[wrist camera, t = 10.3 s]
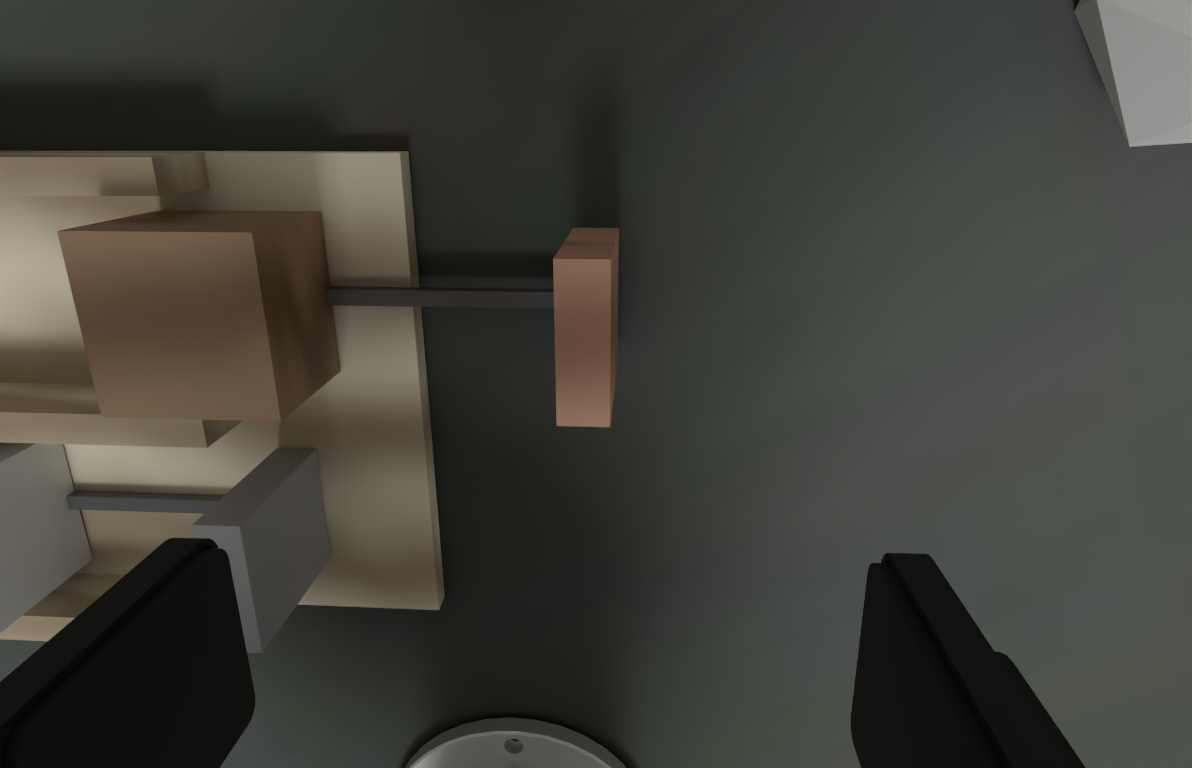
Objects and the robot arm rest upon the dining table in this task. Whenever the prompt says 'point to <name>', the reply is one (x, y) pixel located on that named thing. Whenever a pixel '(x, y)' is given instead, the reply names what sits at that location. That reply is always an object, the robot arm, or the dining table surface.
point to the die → (1144, 64)
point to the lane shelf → (228, 447)
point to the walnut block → (288, 314)
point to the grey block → (234, 521)
